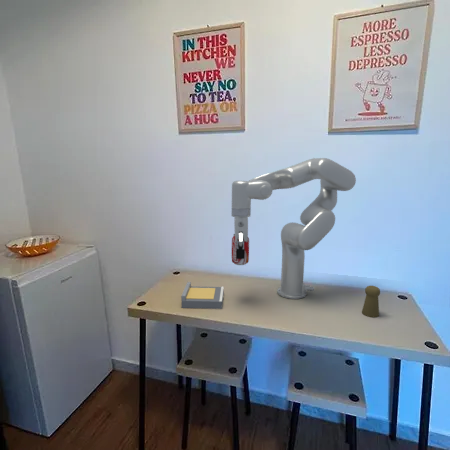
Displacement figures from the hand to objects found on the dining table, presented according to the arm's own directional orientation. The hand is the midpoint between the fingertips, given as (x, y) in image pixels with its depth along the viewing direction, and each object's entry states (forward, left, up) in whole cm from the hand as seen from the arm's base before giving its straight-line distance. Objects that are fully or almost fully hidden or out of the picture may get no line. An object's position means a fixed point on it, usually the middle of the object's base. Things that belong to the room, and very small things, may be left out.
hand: (240, 255), depth 127 cm
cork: (-50, +9, -20) cm, 55 cm away
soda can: (0, 0, -4) cm, 4 cm away
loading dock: (+15, 0, -20) cm, 25 cm away
